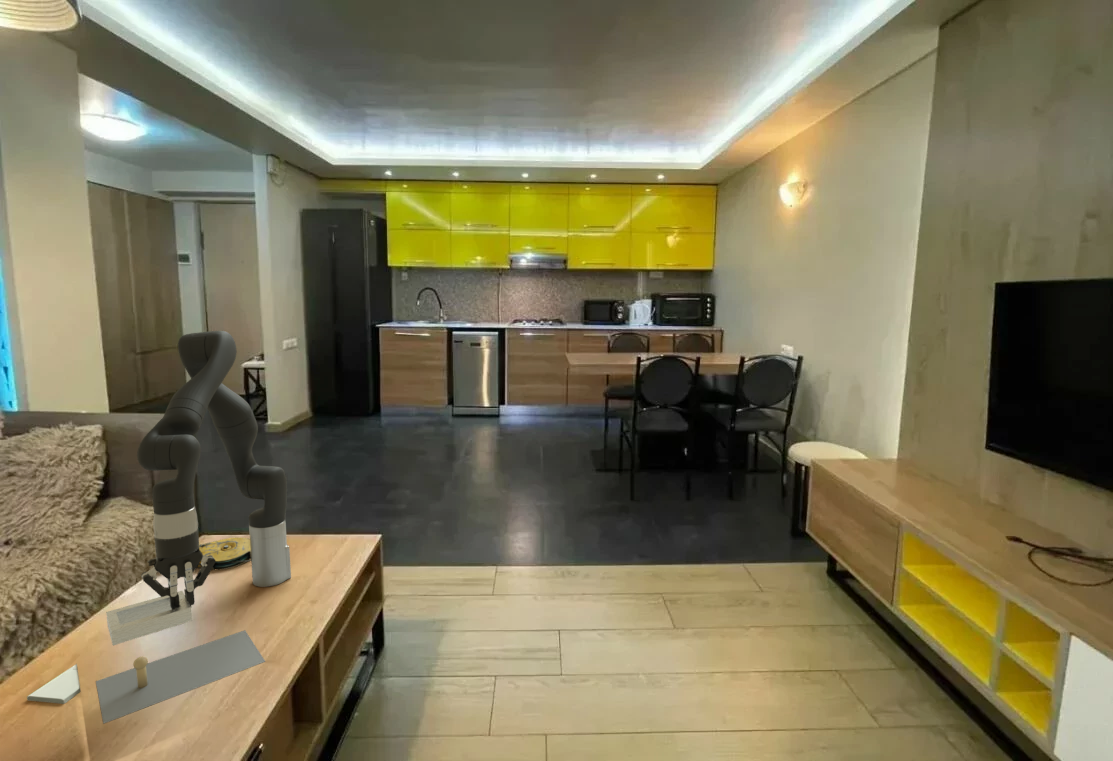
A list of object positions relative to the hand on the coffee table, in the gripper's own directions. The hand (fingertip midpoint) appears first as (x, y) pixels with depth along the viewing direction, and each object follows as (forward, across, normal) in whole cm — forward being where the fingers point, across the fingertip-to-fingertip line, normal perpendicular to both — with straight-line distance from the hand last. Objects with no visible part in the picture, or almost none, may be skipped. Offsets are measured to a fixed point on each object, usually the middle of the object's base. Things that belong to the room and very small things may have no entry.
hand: (182, 608), depth 121 cm
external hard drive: (+16, +18, -13) cm, 27 cm away
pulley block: (+15, -15, -58) cm, 61 cm away
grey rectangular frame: (+1, +6, 0) cm, 6 cm away
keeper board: (+15, +1, 0) cm, 15 cm away
